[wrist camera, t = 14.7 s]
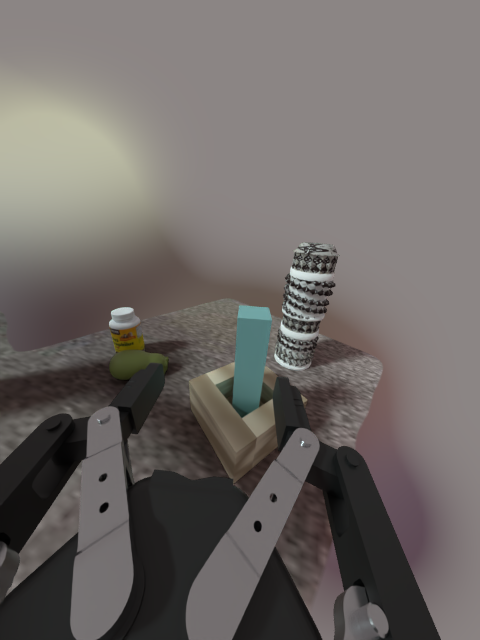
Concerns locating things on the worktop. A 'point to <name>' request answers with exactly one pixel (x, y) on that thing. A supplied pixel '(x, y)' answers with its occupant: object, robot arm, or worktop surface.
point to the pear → (134, 363)
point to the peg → (250, 357)
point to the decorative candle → (305, 304)
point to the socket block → (234, 420)
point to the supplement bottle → (126, 330)
